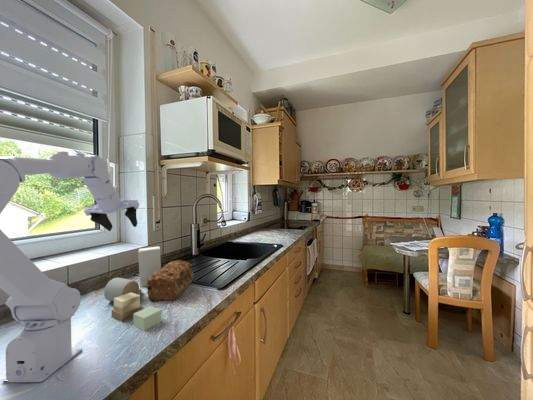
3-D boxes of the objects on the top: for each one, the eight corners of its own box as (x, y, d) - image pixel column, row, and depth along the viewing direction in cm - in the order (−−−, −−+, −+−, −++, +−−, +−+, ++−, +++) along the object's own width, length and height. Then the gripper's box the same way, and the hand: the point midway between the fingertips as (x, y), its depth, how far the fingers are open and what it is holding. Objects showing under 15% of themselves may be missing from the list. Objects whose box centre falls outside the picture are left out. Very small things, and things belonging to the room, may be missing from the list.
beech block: (122, 314, 64) (122, 302, 64) (113, 310, 67) (113, 298, 67) (140, 307, 69) (139, 295, 69) (131, 303, 71) (131, 292, 71)
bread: (170, 282, 95) (169, 258, 95) (194, 282, 95) (194, 258, 95) (145, 302, 77) (144, 273, 77) (176, 301, 76) (175, 272, 76)
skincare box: (161, 279, 99) (160, 245, 99) (161, 283, 93) (161, 248, 93) (139, 282, 95) (138, 247, 95) (138, 287, 90) (138, 250, 90)
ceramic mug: (123, 306, 73) (123, 283, 74) (103, 304, 75) (103, 281, 75) (147, 294, 84) (147, 273, 84) (129, 292, 86) (129, 272, 86)
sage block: (144, 331, 59) (143, 318, 59) (133, 326, 62) (133, 313, 62) (161, 322, 64) (161, 310, 64) (150, 317, 66) (150, 306, 66)
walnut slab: (122, 323, 64) (121, 314, 64) (111, 318, 67) (111, 310, 67) (142, 314, 69) (142, 306, 69) (132, 309, 72) (132, 302, 72)
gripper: (134, 183, 70) (148, 215, 79) (82, 189, 68) (103, 222, 76) (128, 196, 65) (145, 229, 73) (72, 203, 62) (95, 237, 71)
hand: (123, 226), depth 74 cm, fingers open, 7 cm apart
